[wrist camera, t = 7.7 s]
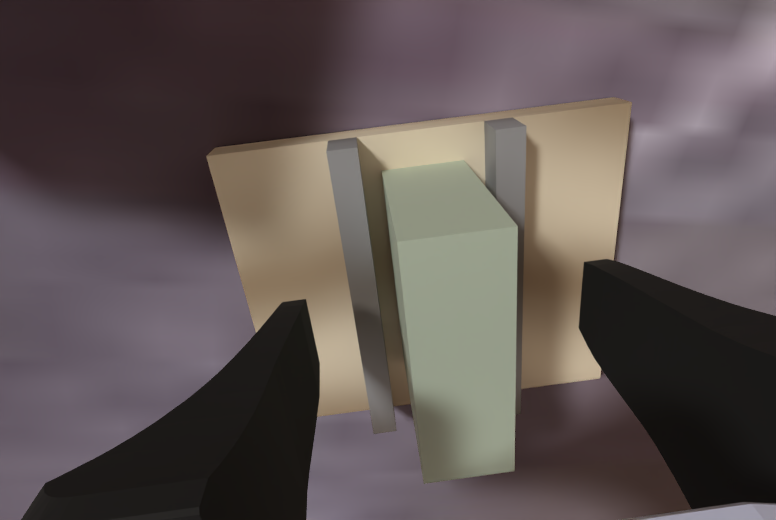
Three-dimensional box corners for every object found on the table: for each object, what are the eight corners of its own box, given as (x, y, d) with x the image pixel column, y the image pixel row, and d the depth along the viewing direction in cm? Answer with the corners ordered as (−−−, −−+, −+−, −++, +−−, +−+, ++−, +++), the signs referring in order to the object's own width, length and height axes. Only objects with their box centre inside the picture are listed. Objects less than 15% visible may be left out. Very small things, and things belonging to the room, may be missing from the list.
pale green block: (471, 353, 17) (514, 471, 13) (404, 362, 17) (423, 483, 13) (464, 160, 14) (517, 226, 10) (381, 170, 14) (397, 242, 10)
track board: (588, 361, 19) (616, 400, 17) (284, 402, 19) (276, 447, 17) (614, 97, 15) (655, 109, 13) (215, 147, 14) (193, 167, 12)
